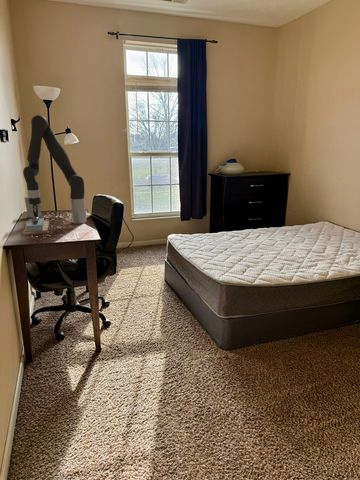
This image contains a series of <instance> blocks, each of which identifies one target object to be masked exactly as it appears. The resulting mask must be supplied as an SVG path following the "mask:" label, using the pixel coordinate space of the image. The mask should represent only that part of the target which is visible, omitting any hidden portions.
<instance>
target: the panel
mask: <svg viewBox="0 0 360 480" xmlns="http://www.w3.org/2000/svg"><path fill="white" fill-rule="evenodd" d="M32 220H34V219H33V218H28V221H27V222H28V223H27V222H26V223H27V225H26V224H25V226H26V228H27V232H28V231H41V230H43V227H44V221H45V219H44V217H39V219H38V223H37V225H34V222H32Z"/></svg>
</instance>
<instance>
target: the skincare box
mask: <svg viewBox="0 0 360 480" xmlns="http://www.w3.org/2000/svg"><path fill="white" fill-rule="evenodd" d="M24 203H25V207H26V213H27V217H28V219H33V217H35V216H34V213H33V210H32V206H33V204H29V201H28V196H26V197H24ZM37 205H38V206H39V218H43V214H42V209H41V203H40V204H37Z"/></svg>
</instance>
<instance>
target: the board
mask: <svg viewBox="0 0 360 480" xmlns="http://www.w3.org/2000/svg"><path fill="white" fill-rule="evenodd" d="M27 223H28V221H26V223H25V226H24V228H23V230H22V235H34V234H35V235H36V234H37V235H38V234H47V233H49V232H48V230H49V224H50V221H49V219H47V220H44V227H43V230H41V231H28V232H27V228H26V225H27Z"/></svg>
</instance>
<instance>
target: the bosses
mask: <svg viewBox="0 0 360 480" xmlns="http://www.w3.org/2000/svg"><path fill="white" fill-rule="evenodd" d="M39 218H40V217H33V218H32V219H34V220H32V222H34V225H37V223H38V219H39Z"/></svg>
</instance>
